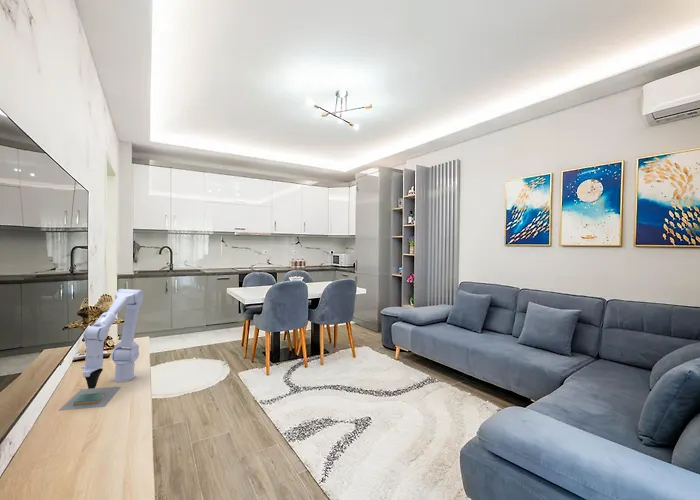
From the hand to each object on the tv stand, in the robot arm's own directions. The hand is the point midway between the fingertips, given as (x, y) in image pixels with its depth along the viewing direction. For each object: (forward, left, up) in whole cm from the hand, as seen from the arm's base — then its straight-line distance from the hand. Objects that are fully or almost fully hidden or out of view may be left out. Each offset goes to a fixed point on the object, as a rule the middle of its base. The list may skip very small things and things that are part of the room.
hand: (91, 387), depth 136 cm
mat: (-1, 0, -5) cm, 5 cm away
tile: (-1, 0, -4) cm, 4 cm away
